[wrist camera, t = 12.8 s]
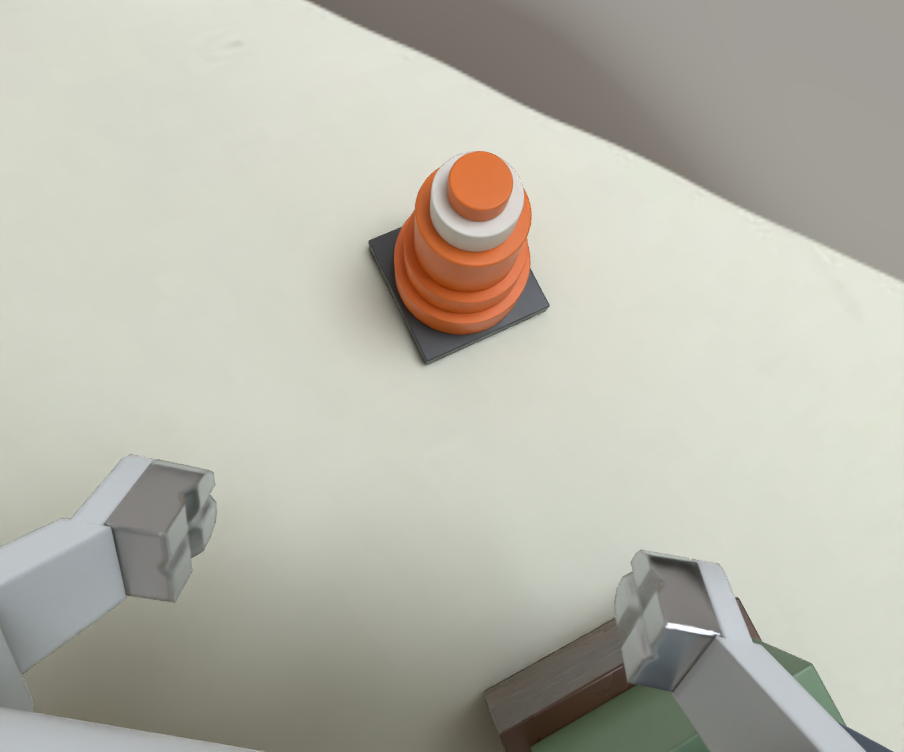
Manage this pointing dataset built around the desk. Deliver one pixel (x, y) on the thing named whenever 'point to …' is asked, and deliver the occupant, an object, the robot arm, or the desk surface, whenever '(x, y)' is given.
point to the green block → (661, 718)
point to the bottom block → (563, 687)
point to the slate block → (865, 741)
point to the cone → (462, 256)
